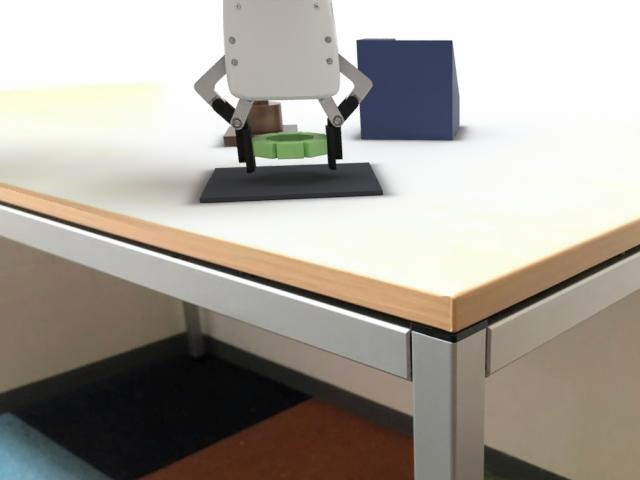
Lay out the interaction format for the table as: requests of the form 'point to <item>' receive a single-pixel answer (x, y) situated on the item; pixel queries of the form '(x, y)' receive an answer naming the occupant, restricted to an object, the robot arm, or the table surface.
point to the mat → (291, 182)
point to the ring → (289, 145)
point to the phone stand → (409, 89)
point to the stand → (262, 121)
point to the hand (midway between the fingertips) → (292, 167)
